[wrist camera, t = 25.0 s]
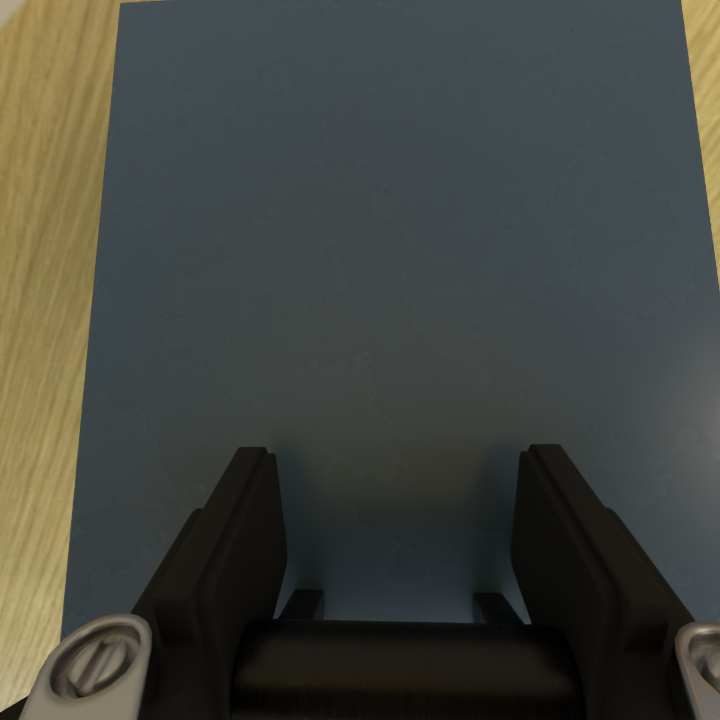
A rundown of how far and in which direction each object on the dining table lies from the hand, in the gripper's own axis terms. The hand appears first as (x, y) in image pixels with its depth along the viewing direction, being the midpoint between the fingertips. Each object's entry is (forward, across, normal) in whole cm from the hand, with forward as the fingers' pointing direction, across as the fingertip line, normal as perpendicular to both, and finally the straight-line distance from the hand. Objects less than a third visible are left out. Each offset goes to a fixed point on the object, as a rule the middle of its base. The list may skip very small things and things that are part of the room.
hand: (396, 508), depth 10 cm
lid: (+4, 0, -3) cm, 5 cm away
